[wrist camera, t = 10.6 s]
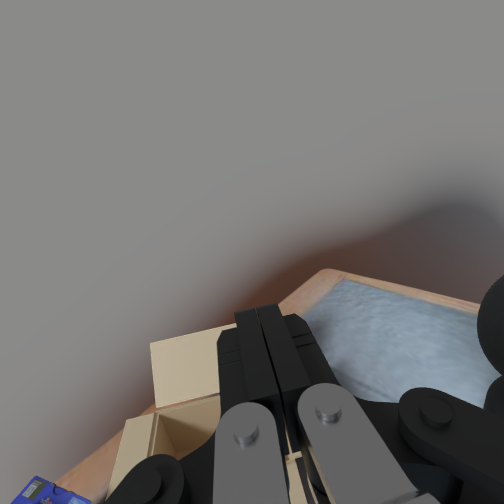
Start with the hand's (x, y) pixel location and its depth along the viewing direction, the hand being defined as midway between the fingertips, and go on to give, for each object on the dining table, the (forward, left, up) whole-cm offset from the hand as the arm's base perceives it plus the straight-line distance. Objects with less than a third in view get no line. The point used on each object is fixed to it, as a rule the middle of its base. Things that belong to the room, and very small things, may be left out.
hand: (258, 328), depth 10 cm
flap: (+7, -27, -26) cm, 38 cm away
